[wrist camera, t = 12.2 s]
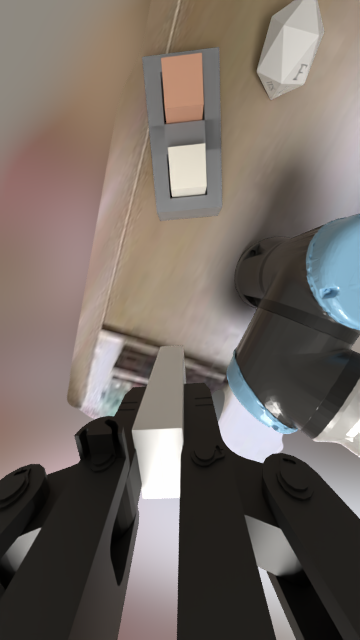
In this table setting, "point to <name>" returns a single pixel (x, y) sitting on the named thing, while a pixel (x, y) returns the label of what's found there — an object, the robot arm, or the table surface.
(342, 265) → the robot arm
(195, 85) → the terracotta key
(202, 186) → the cream key
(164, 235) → the table surface
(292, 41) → the die
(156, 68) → the key box
